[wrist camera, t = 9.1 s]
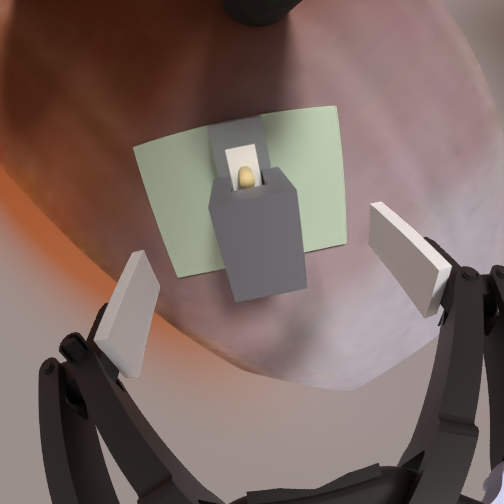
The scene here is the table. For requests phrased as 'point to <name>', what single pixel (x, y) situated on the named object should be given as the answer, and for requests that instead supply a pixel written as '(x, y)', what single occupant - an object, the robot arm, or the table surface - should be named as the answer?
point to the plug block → (259, 236)
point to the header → (244, 178)
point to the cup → (258, 10)
